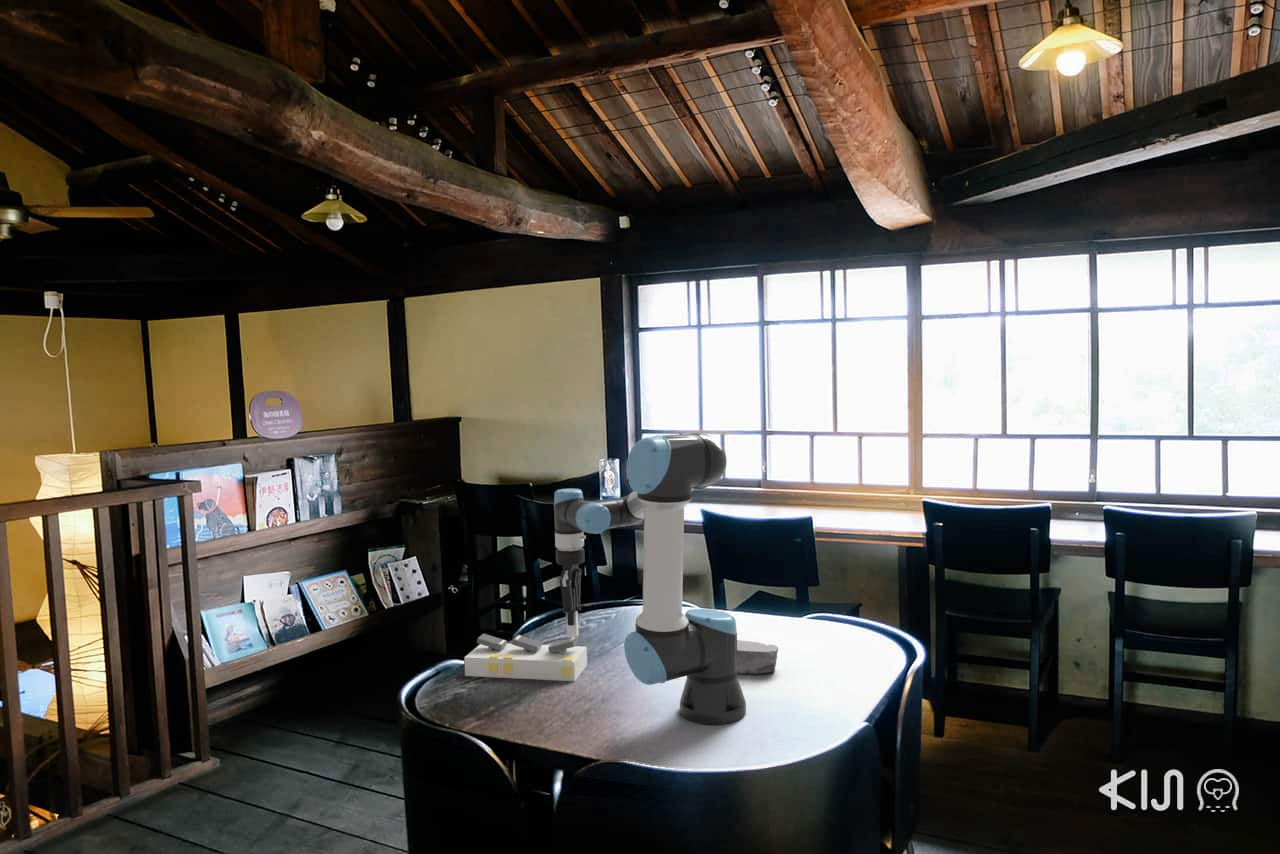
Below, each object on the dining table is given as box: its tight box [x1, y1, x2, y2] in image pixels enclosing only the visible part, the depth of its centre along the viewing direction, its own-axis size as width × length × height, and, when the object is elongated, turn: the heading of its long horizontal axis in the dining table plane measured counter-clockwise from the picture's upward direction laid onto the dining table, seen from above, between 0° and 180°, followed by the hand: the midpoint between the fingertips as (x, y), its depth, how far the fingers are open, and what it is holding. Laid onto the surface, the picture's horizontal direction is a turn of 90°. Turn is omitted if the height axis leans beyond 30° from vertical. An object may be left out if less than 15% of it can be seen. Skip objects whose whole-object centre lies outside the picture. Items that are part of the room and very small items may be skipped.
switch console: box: [463, 643, 588, 682], centre depth 216 cm, size 12×30×6 cm, turn 78°
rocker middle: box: [511, 634, 543, 652], centre depth 217 cm, size 4×7×2 cm, turn 78°
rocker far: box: [476, 633, 508, 651], centre depth 219 cm, size 4×7×2 cm, turn 78°
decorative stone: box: [737, 639, 779, 676], centre depth 212 cm, size 15×7×10 cm
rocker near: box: [548, 636, 579, 653], centre depth 215 cm, size 4×7×2 cm, turn 78°
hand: (572, 635), depth 215 cm, fingers closed
